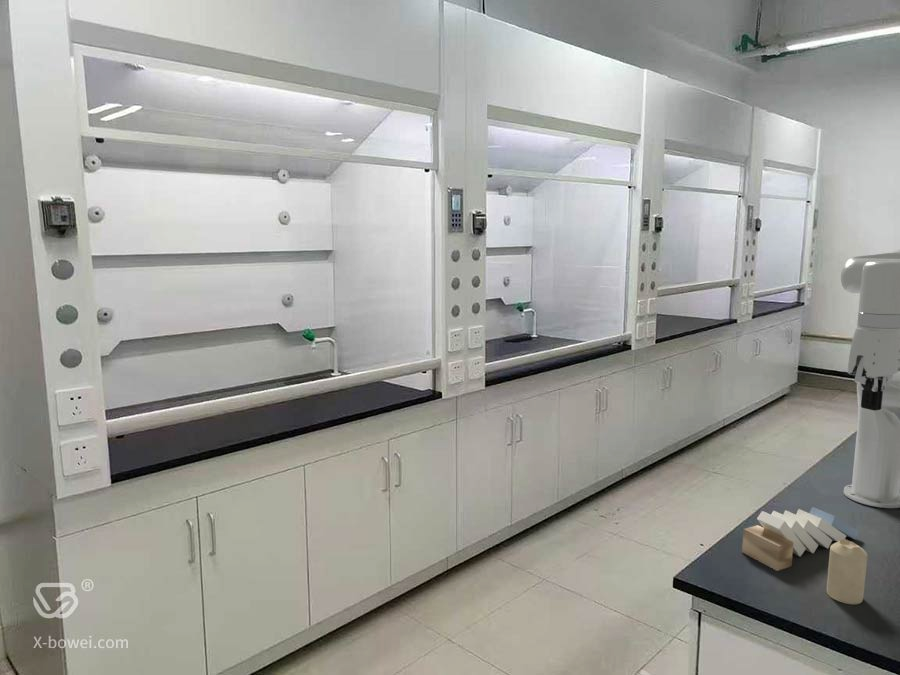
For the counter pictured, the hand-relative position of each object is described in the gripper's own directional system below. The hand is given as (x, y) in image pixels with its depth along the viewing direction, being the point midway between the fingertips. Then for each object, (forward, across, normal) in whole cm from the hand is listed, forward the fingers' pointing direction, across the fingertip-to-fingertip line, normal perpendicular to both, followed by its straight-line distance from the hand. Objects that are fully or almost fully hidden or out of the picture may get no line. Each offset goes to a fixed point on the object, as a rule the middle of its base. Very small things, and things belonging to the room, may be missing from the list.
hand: (870, 408), depth 132 cm
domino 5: (+26, +4, 0) cm, 27 cm away
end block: (+27, +28, 0) cm, 39 cm away
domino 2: (+26, +18, 0) cm, 32 cm away
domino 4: (+26, +9, 0) cm, 28 cm away
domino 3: (+26, +13, 0) cm, 29 cm away
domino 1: (+26, +21, 0) cm, 34 cm away
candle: (+27, +27, +15) cm, 41 cm away
